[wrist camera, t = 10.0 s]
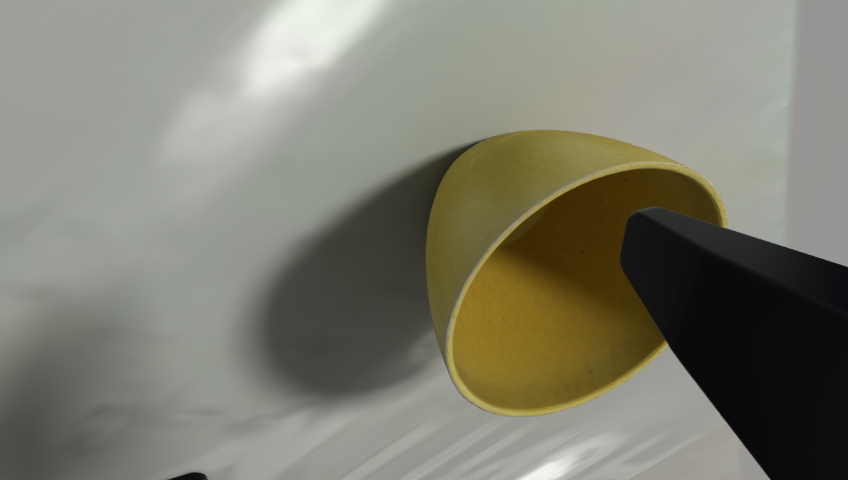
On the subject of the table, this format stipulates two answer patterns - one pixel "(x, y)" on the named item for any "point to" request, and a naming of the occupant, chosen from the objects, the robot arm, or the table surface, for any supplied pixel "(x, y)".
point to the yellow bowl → (547, 266)
